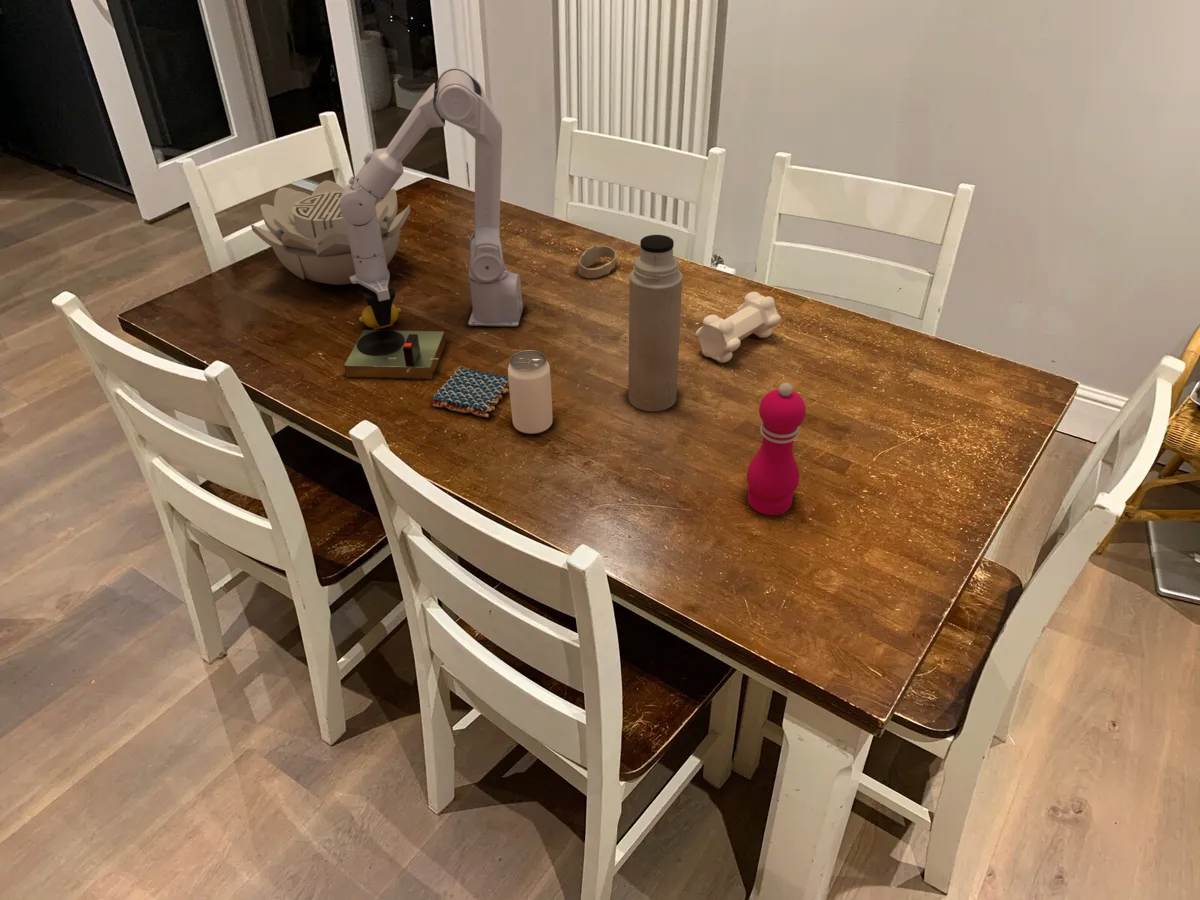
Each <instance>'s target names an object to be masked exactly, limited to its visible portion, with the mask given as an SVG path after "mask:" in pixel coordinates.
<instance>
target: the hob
mask: <svg viewBox="0 0 1200 900" xmlns="http://www.w3.org/2000/svg"><path fill="white" fill-rule="evenodd" d="M382 330H383V329H382ZM382 330H381V329H376V330H374V329H363V330H362V332H361V333H360V336H359V337H358V339H357V341H356V343H355V345H354V346H353V348H352V350H351V352H350V354H349V356H348V358H347V359H346V361H345V363H344V366H343V367H344V371H345V377H346V378H366V379H367V378H370V379H371V378H372V379H410V380H411V379H414V380H418V379H419V380H432V379H433V378H434V375H435V373H436V370H437V367H438V364H439V362H440V359H441V357H442V354H443V352H444V349H445V346H446V344H447V341H446V333H445V331H436V330H435V331H431V330H430V331H429V330H394V331H395V332H398V333H400V334H402V335H403V336H404V338H405V342H406V340H407V338H408V336H409V334H417V335H418V341H419V347H420V354H419V356H418V358H417V361H416V363H415V365H414V366H406V363H405V358H404V352H403V346H404V345H403V346H402V347H401V348H400V349H399V350H397V351H395V352H393V353H390V354H386V355H380V356H371V355H366V354H363V353H361V352H360V351H359V350H358V348H357V343H358V341H359V340H360V339H361V338H362V337H363V336H365V335H367V334H369V333H372V332H376V331H382ZM404 344H405V343H404Z"/></svg>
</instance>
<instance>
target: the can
mask: <svg viewBox="0 0 1200 900" xmlns="http://www.w3.org/2000/svg"><path fill="white" fill-rule="evenodd" d="M507 378H508V379H509V387H508V389H509V400H510V410H511V421H512V426H513V427H514V428H515V430H517V431H518V432H520V433H522V434H526V435H537V434H541V433H544V432H546V431H547V430H549V428H550V427H551V426H552V425H553V419H554V417H553V397H552V395H553V394H552V379H551V378H552V377H551V367H550V364H549V362H548V360H547V356H546V355H545V354H544V353H543V352H541V351H539V350H534V349H526V350H525V349H524V350H520V351H517V352H516V353H514V354H512V355H511V356H510V358H509V364H508V367H507Z"/></svg>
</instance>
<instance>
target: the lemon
mask: <svg viewBox="0 0 1200 900" xmlns="http://www.w3.org/2000/svg"><path fill="white" fill-rule="evenodd" d="M400 313H402V309H401V308H400V307H397V306H396V305H395V304H394V303H392V308H391V321H390V324H388V325H384V326H379V325H378V323H377V321H376V318H375V316H374V313H373V310H372V308H371V306H370V305H369V306H368V305H367V306H366V307H364V308H363V310H362V312H361V315H360V316H359V318H358V320H359V322H361V323H363V324H364V325H365V326H367V327H368V328H371V329H373V330H381V329H384V328H388V327H392V326H394V323H396V322H397V320H398V318H399V314H400Z"/></svg>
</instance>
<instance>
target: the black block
mask: <svg viewBox="0 0 1200 900" xmlns="http://www.w3.org/2000/svg"><path fill="white" fill-rule="evenodd" d="M403 352H404V358H405V363H406V366H414V365H415V363H416V361H417V358H418V356H419V354H420V347H419V341H418V335H417V334H409V336H408V338H407V340H406V342H405V344H404V346H403Z"/></svg>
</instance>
